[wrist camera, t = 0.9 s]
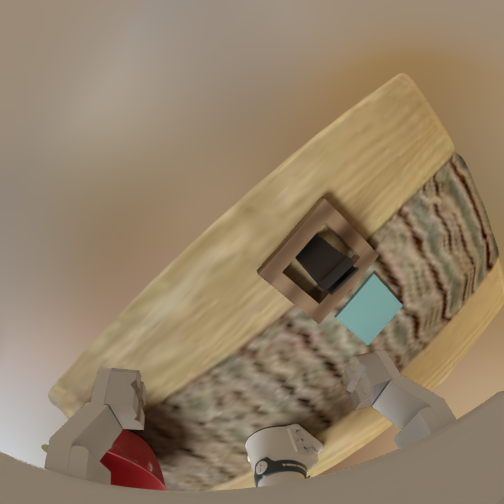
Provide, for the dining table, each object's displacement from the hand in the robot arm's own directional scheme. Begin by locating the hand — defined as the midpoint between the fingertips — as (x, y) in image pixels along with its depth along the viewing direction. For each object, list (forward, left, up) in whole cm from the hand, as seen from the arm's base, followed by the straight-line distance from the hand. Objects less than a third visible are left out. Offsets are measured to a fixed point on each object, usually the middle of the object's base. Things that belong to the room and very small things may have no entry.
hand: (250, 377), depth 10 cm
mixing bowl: (-13, +63, -43) cm, 77 cm away
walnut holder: (-16, -7, -42) cm, 46 cm away
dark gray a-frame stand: (-16, -7, -43) cm, 46 cm away
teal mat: (-33, -7, -42) cm, 55 cm away
